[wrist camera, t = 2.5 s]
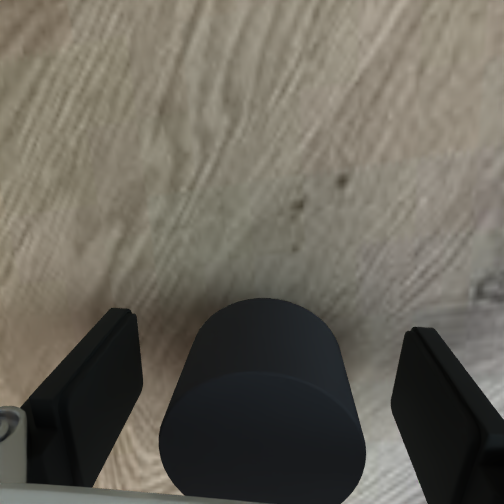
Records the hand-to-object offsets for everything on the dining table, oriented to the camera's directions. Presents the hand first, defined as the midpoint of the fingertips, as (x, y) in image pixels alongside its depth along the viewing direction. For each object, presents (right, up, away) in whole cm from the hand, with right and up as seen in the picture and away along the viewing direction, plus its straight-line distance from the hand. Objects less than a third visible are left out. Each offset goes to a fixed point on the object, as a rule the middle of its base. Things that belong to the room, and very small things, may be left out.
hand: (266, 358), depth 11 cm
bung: (0, +1, +1) cm, 1 cm away
